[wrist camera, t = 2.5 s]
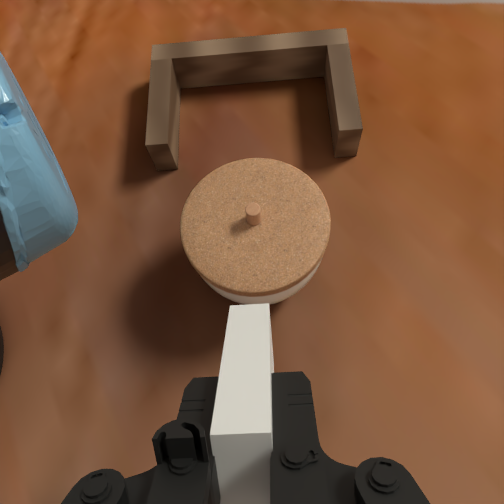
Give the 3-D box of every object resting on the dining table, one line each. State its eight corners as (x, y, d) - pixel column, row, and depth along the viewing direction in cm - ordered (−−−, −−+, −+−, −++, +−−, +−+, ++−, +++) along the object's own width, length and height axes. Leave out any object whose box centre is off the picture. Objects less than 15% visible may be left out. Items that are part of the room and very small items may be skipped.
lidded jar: (174, 258, 39) (142, 207, 30) (263, 185, 41) (258, 118, 33) (255, 348, 35) (246, 319, 27) (348, 262, 38) (367, 210, 29)
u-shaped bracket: (157, 170, 43) (145, 145, 39) (162, 75, 47) (152, 45, 44) (355, 156, 42) (362, 128, 38) (341, 60, 46) (345, 28, 43)
